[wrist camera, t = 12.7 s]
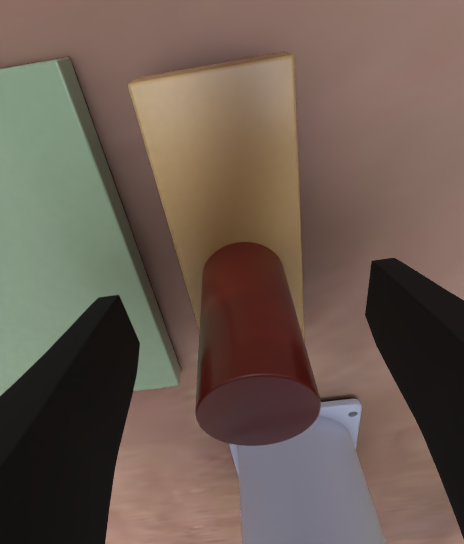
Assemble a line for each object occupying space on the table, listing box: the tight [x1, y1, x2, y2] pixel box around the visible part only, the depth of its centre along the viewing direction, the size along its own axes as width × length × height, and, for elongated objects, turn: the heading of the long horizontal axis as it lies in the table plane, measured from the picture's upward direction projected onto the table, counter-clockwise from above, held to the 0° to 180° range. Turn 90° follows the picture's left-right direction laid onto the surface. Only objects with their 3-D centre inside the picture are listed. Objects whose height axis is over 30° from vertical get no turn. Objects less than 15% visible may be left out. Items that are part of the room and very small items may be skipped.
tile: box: [0, 57, 181, 396], centre depth 14 cm, size 14×11×1 cm
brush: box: [128, 51, 321, 446], centre depth 10 cm, size 4×12×8 cm, turn 8°
